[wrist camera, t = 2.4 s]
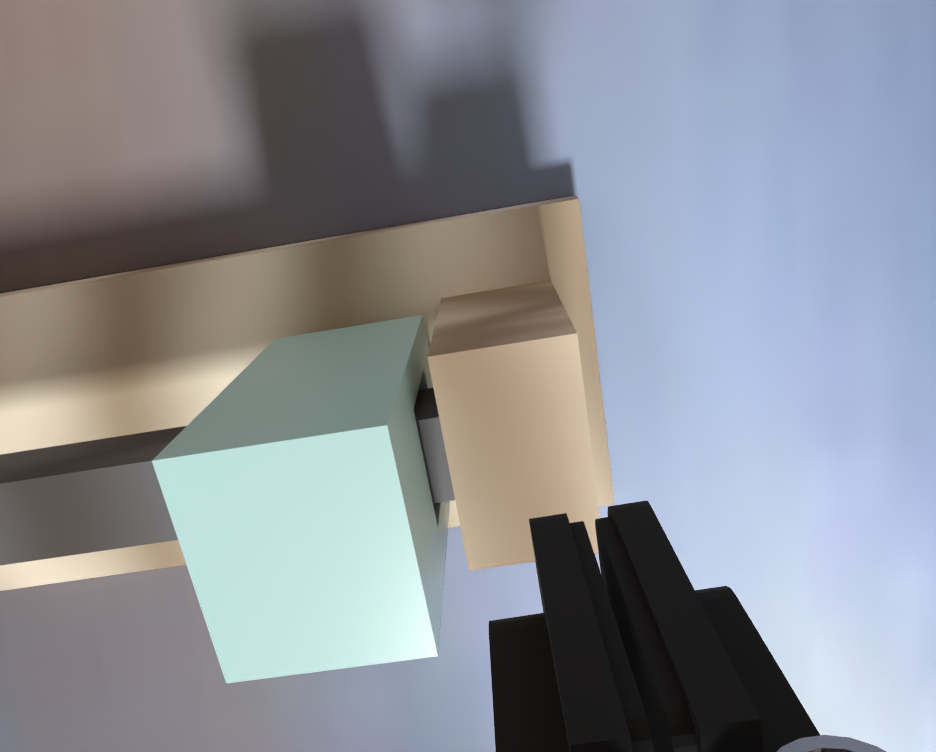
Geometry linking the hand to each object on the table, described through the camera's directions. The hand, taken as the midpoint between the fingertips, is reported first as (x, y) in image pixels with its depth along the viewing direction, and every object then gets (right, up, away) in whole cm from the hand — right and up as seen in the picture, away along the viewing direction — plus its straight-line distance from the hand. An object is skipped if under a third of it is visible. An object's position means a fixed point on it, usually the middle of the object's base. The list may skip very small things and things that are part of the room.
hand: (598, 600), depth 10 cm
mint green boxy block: (-5, +2, +10) cm, 11 cm away
